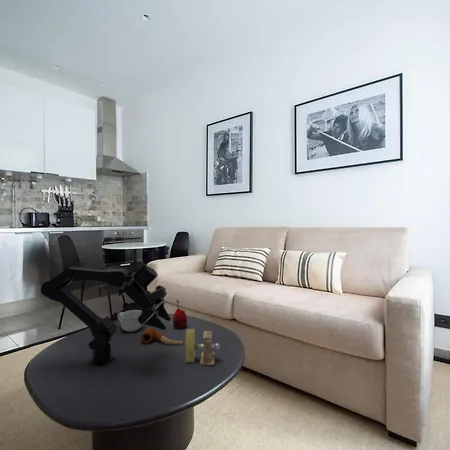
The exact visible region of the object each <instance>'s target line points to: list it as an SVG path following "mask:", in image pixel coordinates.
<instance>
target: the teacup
mask: <svg viewBox="0 0 450 450" xmlns="http://www.w3.org/2000/svg"><path fill="white" fill-rule="evenodd" d="M141 312H142V310H141V309H133V310H126V311H124V312H122V311H120V312H118V313H117V317H116V318H117V320H118V321H119V322H120V326H121V328H122V329H123V331H125V332H127V333H129V332H130V333H133V332H137V331H138V330H140V329H141V328H142V326H143V325H144V323H143V324H142V325H141V324H140V323H139V322H138V317H139V316H140V315H141V314H142V313H141Z"/></svg>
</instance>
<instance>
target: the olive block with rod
mask: <svg viewBox="0 0 450 450" xmlns="http://www.w3.org/2000/svg"><path fill="white" fill-rule="evenodd" d="M211 347H212V350H216V351H218V350H220V348H221V345H220V343H219V342H215V343H212V344H211ZM196 350H203V343H196V329H195V328H187V329H186V331H185V363H187V362H188V363H189V362H191V363H195V361H196V359H195V358H196Z"/></svg>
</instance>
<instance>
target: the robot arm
mask: <svg viewBox="0 0 450 450" xmlns="http://www.w3.org/2000/svg"><path fill="white" fill-rule="evenodd" d="M158 276H159V275H158V273H157V271H156V270H155V269H154V268H152V267H151V266H149V265H147V264H146V263H144V264H142V266H141V267H140V269H138V271H136V272H134V271H129V270H128V269H126V268H115V269H114V268H113V269H107V270H106V269H105V270H104V269H97V268H95V269H94V268H93V269H92V268H86V267H85V268H84V267H77V266H70V267H66V268H65V269H64V270H63V271H61V272H60V273H59V274H57V275H56V276H54V277H52V279H49V280H47V281H45V282H43V283H42V284H41V286H40V293H41V294H42V295H43V297H46V298H47V299H49V300H51V301H55V302H57V303H60V304H61V305H62V306H64V307H65V308H66V309H67V310H68V311H69V312H70V313H72V314H73V315H74V316H75V317H76V318H78V319H79V320H80V321H81V322H82V323H84V324H85V325H86V326H87V327H88V328H89V330H90V333H91V336H92V337H93V339H92V340H91V341H90V342H89V343H88V348H89V350H92V352H91V353H92V355H91V356H92V359H90V360H88V363H90V364H92V365H95V366H97V367H102V366H103V365H104V364H105V365H106V364H107V363H109V362H111V361H113V360H115V357H113V356H112V349H111V343H110V342H111V341H112V340H113V338H114V337H115V336H116V335H117V333H118V326H117V325H116V324H115V323H116V321H114V320H112V318H110V317H109V316H108V315H107V316H105V317H100V316H99V315H98V314H97V313H95V312H94V311H93V310H92V309H91V308H89V307H88V306H87V305H86V304H85V303H84V302H83V301H82V300H80V299H79V298H78V297H77V296H76V295H75V294H73V293H72V291H71V288H70V286H69V284H70V283H71V282H72V281H73V280H74V279H75V280H82V281H83V280H85V281H93V282H102V283H105V284H107V285H109V286H113V287H116V288H117V287H119V288H118V297H121V296H122V295H124V294H125V295H126V296H127V297H128V298H129V299H130V300H131V301H132V303H133V304H132V305H133V306H134V307H136V306H137V307H138V308H139V310H140V311H142V312H141V313H142V314H141V315H140V316H139V317H138V322H139V323H140V324H141V325H142V324H143V325H144V326H149V327H153V328H156V329H159V330H163V331H165V330H167V326H166V325H165V323H164V322H163V321H162V320H161V319H163V320H165V321H167V322H170V321H171V320H172V318H171V317H170V314H169V313H168V311H167V310H166V308H165V302H166V301H165V297H167V295H168V293H167V291H166V290H167V289H166V287H164V285H160V284H159V285H157V286H156V287H155V290H154V291H150V290H146V289H144V287H145V288H148V286H150V285H151V283H153V282H154V280H156V278H158ZM132 280H133V281H132ZM131 281H132V282H131ZM123 285H124V286H123ZM122 286H123V287H122ZM160 318H161V319H160ZM143 325H142V326H143Z"/></svg>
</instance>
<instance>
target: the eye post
mask: <svg viewBox="0 0 450 450" xmlns="http://www.w3.org/2000/svg"><path fill="white" fill-rule="evenodd" d="M212 331H213V330H204V331H203V337H202V344H203V349H202V352H201V357H200V363H199V366H200V365H214V366H215V356H214V355H215V353H216V352H215V351H213V349H212V347H211V344H213V332H212Z"/></svg>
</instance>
